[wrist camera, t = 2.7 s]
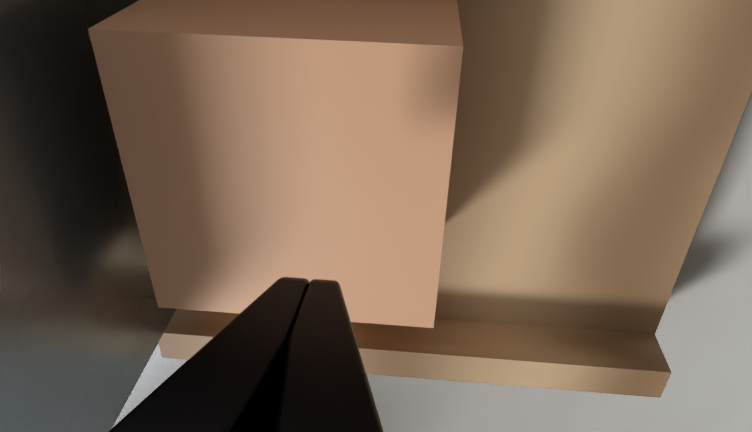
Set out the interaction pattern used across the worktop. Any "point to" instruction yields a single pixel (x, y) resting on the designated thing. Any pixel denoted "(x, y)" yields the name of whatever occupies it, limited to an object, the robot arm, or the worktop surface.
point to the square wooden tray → (566, 193)
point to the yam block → (287, 146)
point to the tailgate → (66, 230)
